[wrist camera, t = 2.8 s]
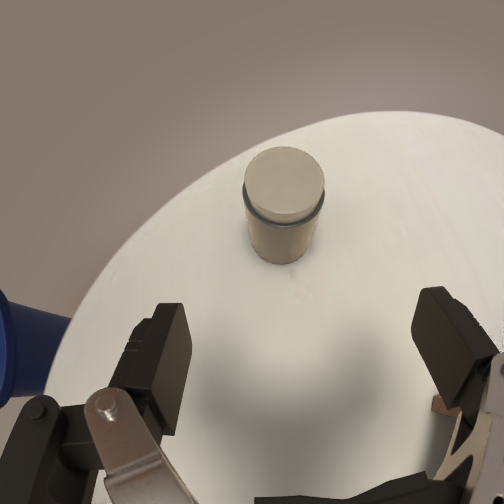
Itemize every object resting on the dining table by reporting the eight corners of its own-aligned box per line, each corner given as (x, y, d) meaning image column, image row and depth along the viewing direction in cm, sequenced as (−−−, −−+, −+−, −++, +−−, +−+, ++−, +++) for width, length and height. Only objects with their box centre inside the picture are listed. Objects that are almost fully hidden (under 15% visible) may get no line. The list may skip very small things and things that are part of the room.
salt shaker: (246, 260, 22) (233, 212, 15) (254, 205, 24) (247, 140, 16) (307, 267, 22) (327, 223, 14) (312, 211, 23) (329, 148, 16)
